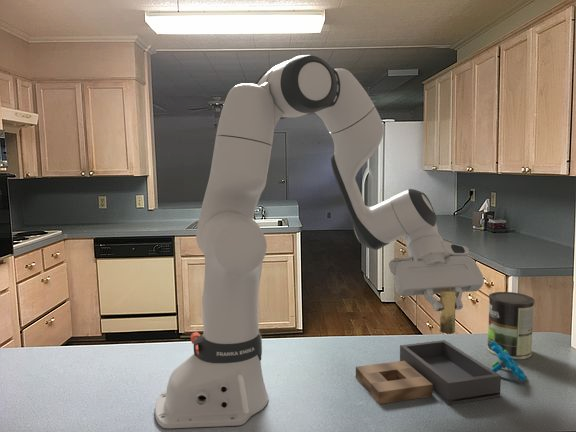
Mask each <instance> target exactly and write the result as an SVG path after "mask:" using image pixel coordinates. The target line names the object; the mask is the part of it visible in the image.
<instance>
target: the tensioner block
mask: <svg viewBox="0 0 576 432" xmlns="http://www.w3.org/2000/svg"><path fill="white" fill-rule="evenodd" d="M355 378H356V379H357V381H358V382H359V383H360V385H362V387H363V388H364V389H365V390H366V391H367V392H368V394H369V395H371V397H372V398H373V400H375V402H376V403H378V405H380V404H388V403H393V402H401V401H409V400H413V399H421V398H429V397H432V396H433V394H434V392H433V384H432V383H431V382H429V381H428V380H427V379H426V378H425V377H423V376H422V375H421V374H420V373H419V372H417V371H416V370H415V369H414V368H413V367H411V366H410V365H409V364H408V363H407V362H405V361H400V360H399V361H389V362H383V363H376V364H368V365H359V366H356V367H355Z"/></svg>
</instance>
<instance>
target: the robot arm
mask: <svg viewBox="0 0 576 432" xmlns="http://www.w3.org/2000/svg"><path fill="white" fill-rule="evenodd" d="M312 113H314V114H315V115H316V116H318V117H319V118H320V120H322V122H323V124H324V126H325V127H326V129H327V132H329V135H330V136H331V138H332V141H333V142H332V143H333V146H334V152H333V153H332V155H331V157H330V163H331V168H332V172H333V175H334V178H335V181H336V184H337V186H338V189H339V192H340V194H341V197H342V199H343V202H344V204H345V206H346V209H347V211H348V214H349V216H350V219H351V223H352V225H353V231H354V234H355V236H356V238H357V240H358V242H359V243H360V245H362V246H363V247H365V248H368V249H371V250H375V251H378V250H380V249H382V248H384V247H385V246H387V245H389V244H390V243H392V242H394V241H396V240H398V239H402V240H403V242H404V243H405V245H406V252H407V255H408V256H406V257H401V258H400V257H396V258H395V257H394V258H393V259H392V260H390V261H389V263H388V266H389V270H390V273H391V274H392V277H393V284H394V289H395V293H396V294H397V295H398V296H399V297H411V296H424V297H423V298H424V299H425V300H426V301H427V302H428V303H429V304H430V305H431V306H432V308H433V311H434V312H440V311H442V309H443V305H442V302H441V301H440V300H438V299H437V298H436V297H435V296H434V295H440V290H443V289H449V290H454V291H456V299H455V311H458V310H459V311H460V310H462V309H463V308H464V304H463V302H462V297H463V293H468V292H469V293H470V292H478V291H479V290H480V289H481V288H482V287H483V285H484V283H485V278H484V275H483V273H482V271H481V269H480V268H479V266H478V264H477V262H476V261H475V260H474V258H472V257H470V256H469V255H470V251H469V248H468V247H467V246H466V245H462V244H461V245H459V244H456V243H452V242H449V241H445V240H444V239H443V238H442V236H441V235H440V233H439V230H438V229H439V228H438V224H437V218H438V217H437V215H436V212H435V210H434V208H433V205H432V203H431V200H429V199H430V198H428V196H427V195H426V194H425V193H424V192H422V191H419V190H418V189H413V188H409V189H405V190H403V191H401V192H398V193H397V194H394V195H392V196H390V197H389V198H387V199H385V200H383V201H380V202H378V203H377V204H375V205H371V206H368V205H366V204H365V201H364V198H363V196H362V192H361V191H360V188H359V186H358V183H357V180H356V177H357V175H358V172H359V171H360V170H361V168H362V167H363V166H364V165H365V163H367V162H368V160H369V159H370V158H371V157H372V156H373V155H374V153H375V152H376V151H377V149H378V147H379V146H380V144H381V143H382V140H383V137H384V124H383V121H382V119H381V116H380V114H379V111H378V110H377V107H376V105H374V102H373V101H372V99H371V97H370V96H369V94H368V93H367V91H366V90H365V89H364V87H363V86H362V84H361V83H360V82H359V80H358V79H357V78H356V77H355V76H354V75H353V74H352V73H351V71H350V70H348V69H345V68H340V67H339V68H333V67H332V66H331V65H330V64H329V63H328V62H326V61H325V60H324V59H323V58H320V57H319V56H316V55H313V54H303V55H297V56H295V57H293V58H291V59H289V60H285V61H281V62H279V63H278V64H276V65H275V66H273V67H271V68H270V69H268V70H267V71H264V72H263V74H262V75H260V77H259V78H258V79H257V81H256V82H255V83H251V82H250V83H239V84H236V85H235V86H233V87H232V88H230V90H229V91H228V93H227V94H226V98H225V100H224V103H223V105H222V109H221V111H220V116H219V121H218V124H217V129H216V135H215V141H214V147H213V154H212V160H211V166H210V172H209V178H208V182H207V186H206V188H205V189H206V190H205V192H204V196H203V201H202V205H201V209H200V213H199V217H198V222H197V227H196V233H195V234H196V235H195V238H196V239H195V240H196V244H197V246H198V248H199V250H200V251H201V252H202V254H203V256H204V280H203V281H204V283H203V293H202V297H201V298H202V300H201V301H202V325H203V327H202V328H203V329H202V330H203V333H202V334H200V333H199V332H196V331H195V332H192V333H191V334H190V342H191V344H192V345H193V354H192V355H191V356H190V357H188V358H187V359H186V360H185V361H184V362H182V363H181V364H180V365H179V366H177V367H176V368H175V369H174V370H173V371H172V372H171V374H170V376H169V379H168V382H167V387H166V389H165V390H163V391H162V392H161V393H160V394H159V396H158V398H157V399H156V403H155V408H154V409H155V410H154V416H155V421H156V422H157V424H158V425H159V426H160V427H162V429H183V428H184V429H185V428H205V427H206V428H208V427H209V428H210V427H211V428H212V427H229V426H234V427H236V426H241V425H242V426H243V425H244V424H246V423H247V422H248V420H249V419H250V418H251V417H252V416H254V415H255V414H257V413H259V412H260V411H262V410H263V409H264V408H265V407H266V405H267V404H268V403H269V394H268V392H267V389H266V385H265V381H264V377H263V370H262V362H261V361H262V355H263V343H262V341H263V339H262V334H261V331H260V328H259V326H260V325H259V324H260V323H259V291H260V284H261V283H260V281H261V276H262V270H263V261H264V259H265V256H266V254H267V248H268V247H267V239H266V237H265V234H264V231H263V230H262V228H261V227H260V226H259V224H258V223H257V222H256V220H254V216H255V212H256V210H257V207H258V203H259V200H260V199H261V196H262V193H263V191H264V190H265V188H266V184H267V179H268V174H269V173H268V172H269V166H270V161H271V153H272V148H273V141H274V134H275V132H274V131H276V126H277V124H278V123H279V120H282V119H283V120H284V119H288V118H299V117H302V116H305V115H308V114H312Z"/></svg>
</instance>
